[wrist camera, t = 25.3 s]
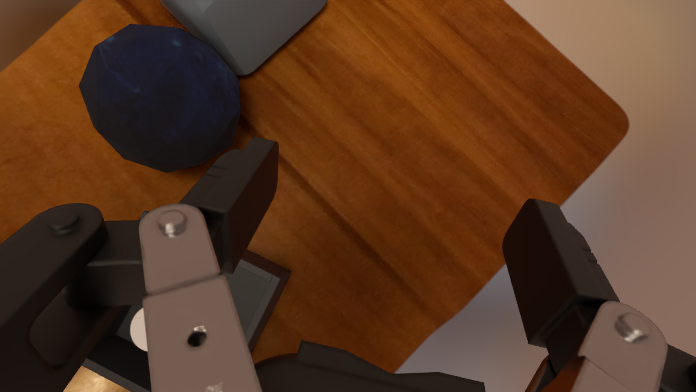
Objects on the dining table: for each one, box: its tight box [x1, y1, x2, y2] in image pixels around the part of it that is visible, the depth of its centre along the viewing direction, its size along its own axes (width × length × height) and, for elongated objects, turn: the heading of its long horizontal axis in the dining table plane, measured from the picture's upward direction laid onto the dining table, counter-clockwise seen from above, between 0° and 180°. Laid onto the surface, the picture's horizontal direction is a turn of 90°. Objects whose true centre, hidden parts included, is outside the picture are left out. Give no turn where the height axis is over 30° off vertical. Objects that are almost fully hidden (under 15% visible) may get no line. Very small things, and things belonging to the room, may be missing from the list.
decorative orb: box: [79, 24, 241, 173], centre depth 36 cm, size 14×15×15 cm
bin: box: [82, 211, 291, 392], centre depth 37 cm, size 16×16×7 cm
